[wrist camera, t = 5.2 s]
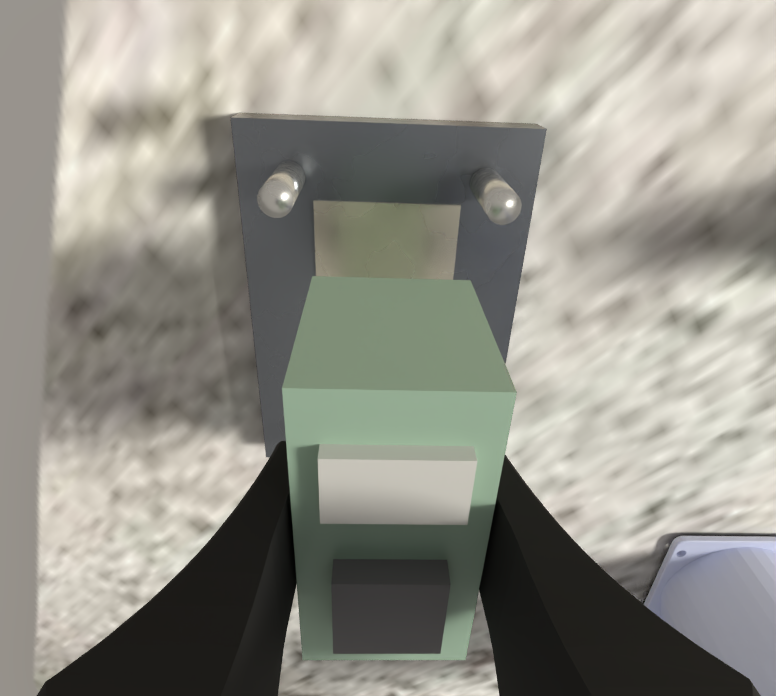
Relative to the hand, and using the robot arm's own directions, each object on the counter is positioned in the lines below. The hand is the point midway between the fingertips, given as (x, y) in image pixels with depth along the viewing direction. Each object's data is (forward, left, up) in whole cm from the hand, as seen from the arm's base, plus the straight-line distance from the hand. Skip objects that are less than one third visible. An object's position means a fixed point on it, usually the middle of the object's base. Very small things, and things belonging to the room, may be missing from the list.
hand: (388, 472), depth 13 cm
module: (0, 0, -3) cm, 3 cm away
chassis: (0, 0, -9) cm, 9 cm away
